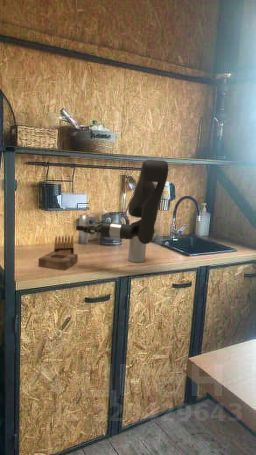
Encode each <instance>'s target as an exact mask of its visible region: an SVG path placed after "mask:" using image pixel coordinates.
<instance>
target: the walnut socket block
mask: <svg viewBox="0 0 256 455" xmlns="http://www.w3.org/2000/svg"><path fill="white" fill-rule="evenodd" d="M78 257H79V255H78V253H74V254H71V253H62V252H54V250H52V251H51V252H48V253H45V255H43V256H41V257H39V258H38V267H39V268H45V269H52V270H53V269H54V270H62V271H67V270H68V269H69V268H71V267H72V266H74V265H75V264H77V263H78Z"/></svg>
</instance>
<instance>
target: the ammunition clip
mask: <svg viewBox="0 0 256 455" xmlns="http://www.w3.org/2000/svg"><path fill="white" fill-rule="evenodd" d="M74 244H75V243H74V235H73V234H71V235H70V234H69V235H68V236H67V235H65V237H64V235H62V236H61V235H59V236H57V235H55V239H54V244H53V245H54V248H53V251H54V252H62V253H71V254H75V248H74V246H75V245H74Z"/></svg>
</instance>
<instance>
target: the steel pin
mask: <svg viewBox="0 0 256 455" xmlns="http://www.w3.org/2000/svg"><path fill="white" fill-rule="evenodd" d="M78 217H79V218H78V226H89V224H90V222H89V220H90V215H89V214H79V216H78ZM86 230H88V229H86ZM78 245H81V246H83V245H85V246H86V245H89V233H84V231H79V230H78Z"/></svg>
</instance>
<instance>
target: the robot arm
mask: <svg viewBox="0 0 256 455" xmlns="http://www.w3.org/2000/svg"><path fill="white" fill-rule="evenodd" d="M140 168H141V169H140V173H139V178H138V181H137V184H136V186H135V189H134V193H133V195H132V197H131V198H130V200H129V204H128V208H127V209H128V214H129V215H130V216H131V217H133V218H134V217H136V218H138V217H139V218H140V219H139V220H137V221H133V222H131V223H130V224H127V223H119V222H111V221H103V222H102V223H89V226H79V225H76V226H75V230H76V231H78V232H79V231H84V233H88V234H92V235H94V234H99V233H100V234H101V237H102V238H106V239H107V238H108V239H114V240H115V239H116V240H117V239H118V240H119V239H120V240H122V239H123V240H128V254H127V256H128V257H127V259H128V261H129V262H131V263H144V262H145V261H146V253H147V245H148V244H149V243H151V242H152V241H153V238H154V236H155V233H156V229H155V224H156V221H157V217H158V212H159V207H160V203H161V199H162V196H163V192H164V190H165V187H166V184H167V180H168V176H169V175H168V174H169V165H168V162H167V161H166V160H158V159H146V160H144V162H143V163H142V165H141V167H140ZM154 183H157V184H156V186H155V184H154ZM86 229H88V230H86Z"/></svg>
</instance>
